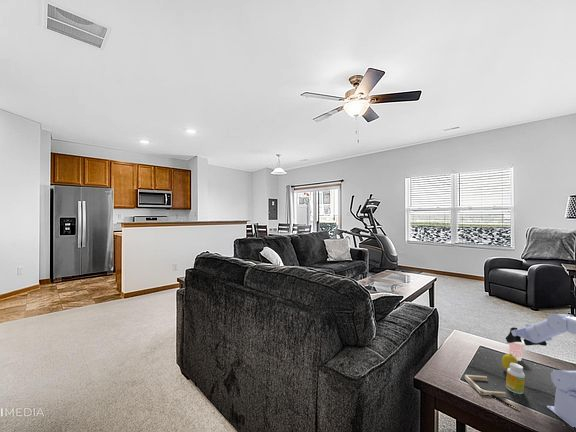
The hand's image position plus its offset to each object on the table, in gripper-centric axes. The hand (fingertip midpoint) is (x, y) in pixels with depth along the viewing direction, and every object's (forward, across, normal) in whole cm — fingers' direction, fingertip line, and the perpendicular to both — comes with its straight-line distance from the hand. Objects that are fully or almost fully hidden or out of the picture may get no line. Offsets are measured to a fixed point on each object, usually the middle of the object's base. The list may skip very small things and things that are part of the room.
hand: (516, 341), depth 115 cm
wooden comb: (+1, +17, +23) cm, 28 cm away
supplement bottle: (+5, +5, +17) cm, 19 cm away
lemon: (+14, -3, +8) cm, 17 cm away
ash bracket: (+6, +16, +18) cm, 24 cm away
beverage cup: (+23, -17, -1) cm, 28 cm away
